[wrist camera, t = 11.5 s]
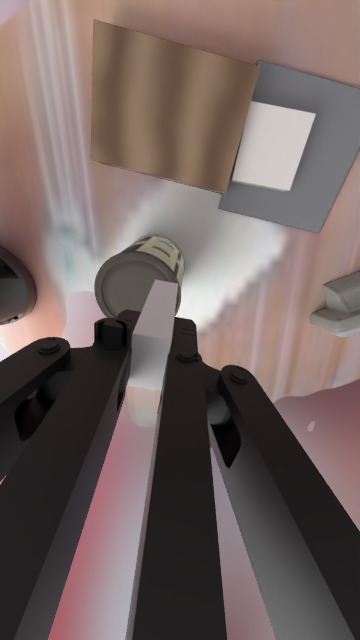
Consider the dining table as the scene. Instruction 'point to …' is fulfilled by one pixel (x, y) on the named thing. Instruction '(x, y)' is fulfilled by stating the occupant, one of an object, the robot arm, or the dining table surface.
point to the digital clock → (340, 307)
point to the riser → (167, 107)
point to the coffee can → (138, 275)
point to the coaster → (271, 146)
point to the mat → (318, 155)
